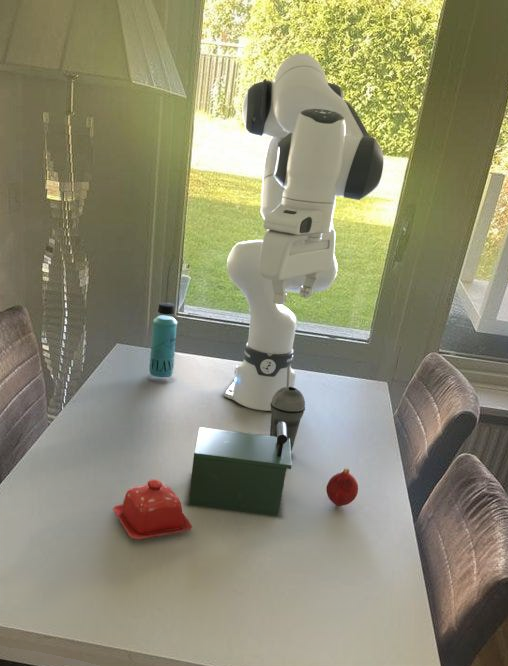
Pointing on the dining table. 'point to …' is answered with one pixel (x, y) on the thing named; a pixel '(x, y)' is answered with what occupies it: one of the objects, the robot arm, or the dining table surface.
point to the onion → (342, 488)
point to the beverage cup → (287, 410)
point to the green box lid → (245, 447)
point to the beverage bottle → (163, 342)
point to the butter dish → (151, 511)
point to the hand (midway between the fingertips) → (292, 300)
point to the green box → (236, 486)
